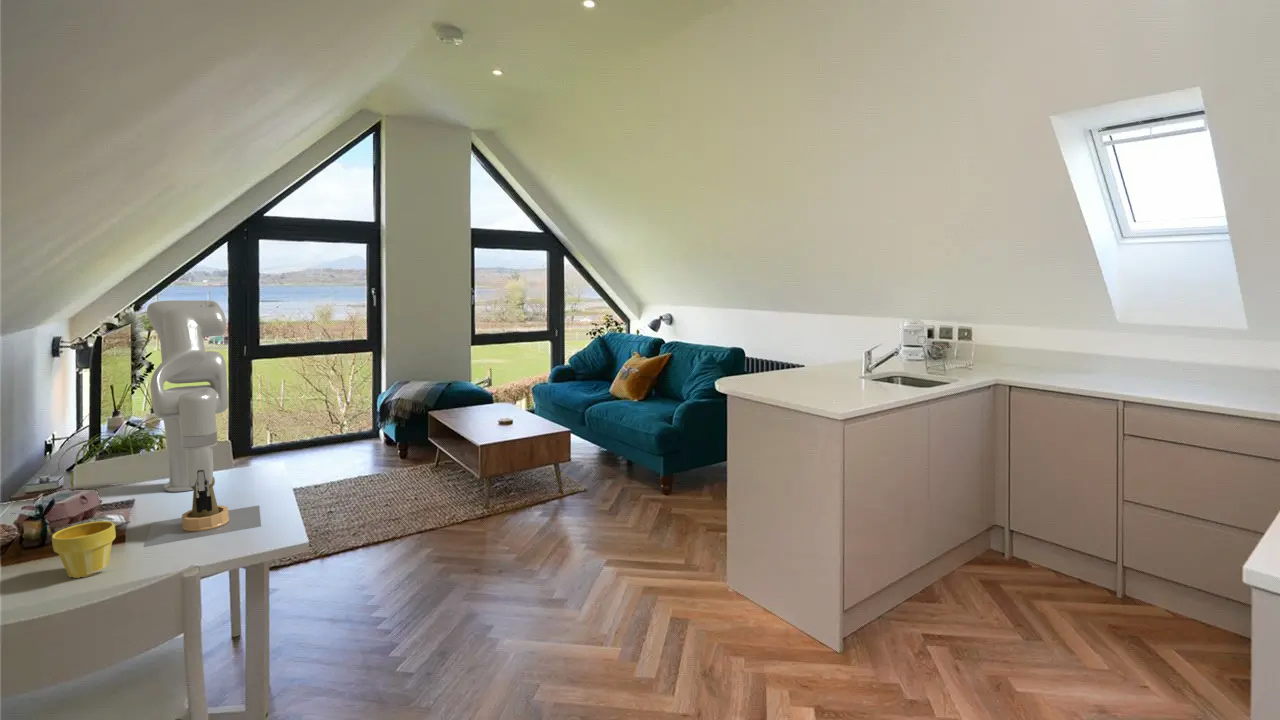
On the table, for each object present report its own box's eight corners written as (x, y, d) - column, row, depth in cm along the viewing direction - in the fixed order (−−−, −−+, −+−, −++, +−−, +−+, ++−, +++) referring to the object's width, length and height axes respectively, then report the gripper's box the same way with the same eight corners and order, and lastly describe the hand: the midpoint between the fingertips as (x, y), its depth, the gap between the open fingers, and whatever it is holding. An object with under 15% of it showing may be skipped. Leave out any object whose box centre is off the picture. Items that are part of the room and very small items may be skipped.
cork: (204, 521, 157) (201, 480, 156) (185, 519, 158) (181, 478, 157) (225, 513, 163) (222, 473, 162) (206, 511, 164) (202, 471, 163)
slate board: (152, 526, 162) (152, 522, 162) (259, 508, 175) (259, 505, 175) (143, 550, 147) (143, 546, 147) (261, 529, 160) (261, 526, 160)
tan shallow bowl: (184, 522, 162) (183, 509, 162) (229, 514, 168) (228, 502, 167) (181, 534, 154) (180, 522, 154) (229, 526, 159) (228, 514, 159)
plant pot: (52, 572, 136) (48, 530, 135) (113, 557, 144) (109, 517, 142) (60, 587, 129) (55, 543, 128) (123, 570, 137) (119, 528, 136)
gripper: (183, 435, 163) (189, 501, 165) (178, 449, 149) (185, 522, 152) (218, 431, 167) (222, 496, 170) (216, 445, 153) (221, 516, 156)
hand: (204, 507), depth 161 cm, fingers closed on cork, 4 cm apart
